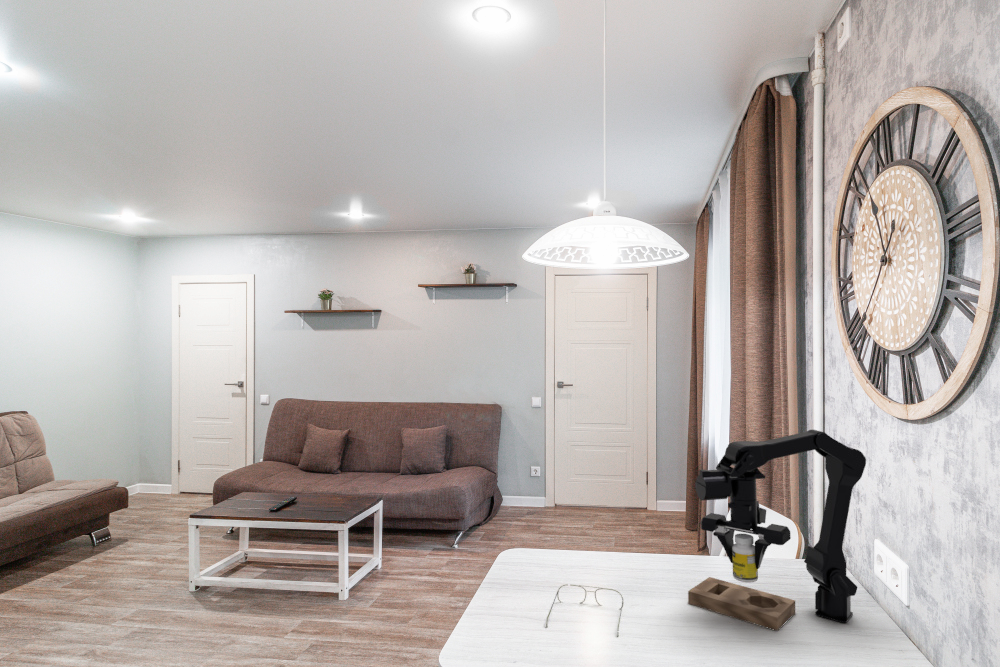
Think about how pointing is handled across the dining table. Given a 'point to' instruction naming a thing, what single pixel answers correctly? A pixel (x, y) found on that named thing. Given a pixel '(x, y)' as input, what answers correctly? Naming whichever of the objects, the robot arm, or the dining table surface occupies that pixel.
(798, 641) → the dining table surface
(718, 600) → the socket board
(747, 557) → the supplement bottle
